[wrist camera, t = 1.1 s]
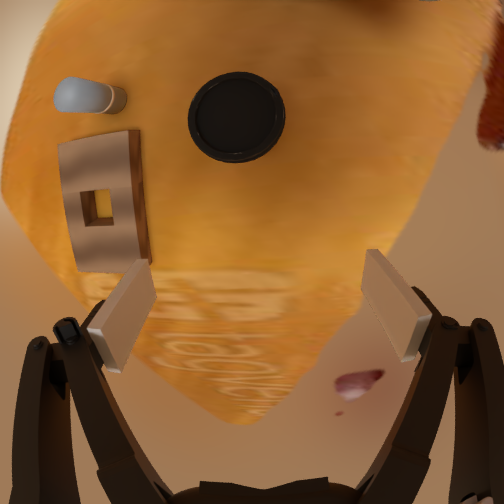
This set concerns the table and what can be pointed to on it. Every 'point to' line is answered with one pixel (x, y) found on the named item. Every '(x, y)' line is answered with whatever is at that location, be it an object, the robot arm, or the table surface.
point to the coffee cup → (236, 117)
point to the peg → (88, 97)
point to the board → (122, 200)
